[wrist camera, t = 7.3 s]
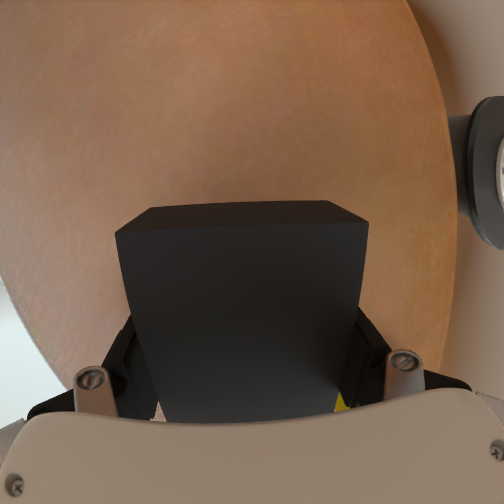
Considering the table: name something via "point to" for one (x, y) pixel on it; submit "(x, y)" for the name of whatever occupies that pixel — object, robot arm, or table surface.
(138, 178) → the table surface
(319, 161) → the table surface
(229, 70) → the table surface
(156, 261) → the black block
